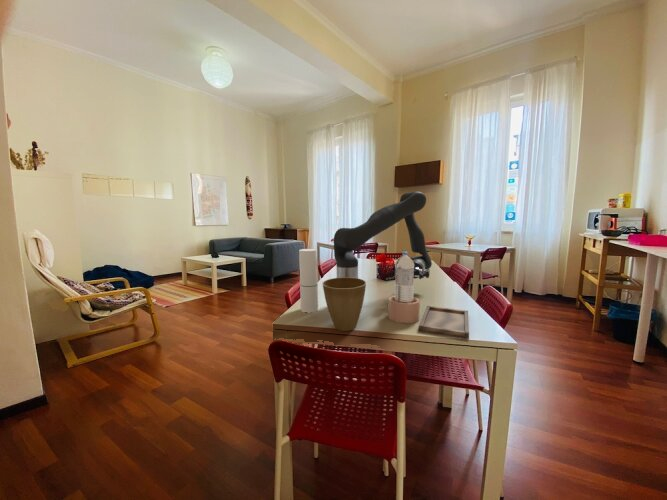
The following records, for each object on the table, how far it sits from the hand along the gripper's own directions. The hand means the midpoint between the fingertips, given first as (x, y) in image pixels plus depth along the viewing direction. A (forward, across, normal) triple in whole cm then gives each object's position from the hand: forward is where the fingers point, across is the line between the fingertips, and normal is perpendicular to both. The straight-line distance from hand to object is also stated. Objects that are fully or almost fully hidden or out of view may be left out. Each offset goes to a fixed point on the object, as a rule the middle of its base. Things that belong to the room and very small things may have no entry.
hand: (409, 275), depth 110 cm
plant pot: (+27, -17, +14) cm, 35 cm away
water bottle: (+10, 0, +14) cm, 17 cm away
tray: (+9, +14, +14) cm, 22 cm away
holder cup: (+10, 0, +14) cm, 17 cm away
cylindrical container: (+17, -37, +14) cm, 43 cm away
